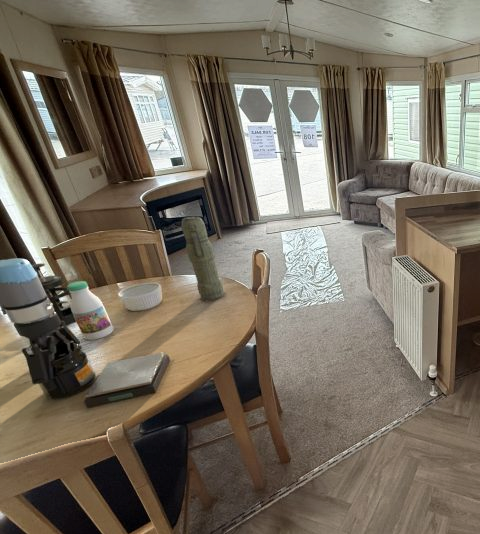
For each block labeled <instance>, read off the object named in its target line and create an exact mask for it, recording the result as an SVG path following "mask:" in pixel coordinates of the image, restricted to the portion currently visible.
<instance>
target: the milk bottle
mask: <svg viewBox="0 0 480 534" xmlns="http://www.w3.org/2000/svg"><path fill="white" fill-rule="evenodd" d="M66 288H68V290H69V292H70V295H71V297H72V300H71V299H70V301H71V311H72V313H73V316H74V318H75V320H76V322H75V323H76V324H77V326H78V328H79V330H80V332H81V334H82V336H83V338H84V339H85V340H88V341H93V340H98V339H102V338H104V337H108V336H109V335H111V334H112V333H113V331H114V326H113V324H112V322H111V319H110V316H109V315H108V312H107V310H106V308H105V306H104V305H103V304H104V303H103V302H102V300H101V299H100V298H99V297H98V296H97V295H95V294H94V293H92V291H90V289H89V285H88V283H87V281H84V280H83V281H76V282H72V283H69V284H68V285H67V286H66Z"/></svg>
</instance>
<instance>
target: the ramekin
mask: <svg viewBox="0 0 480 534" xmlns="http://www.w3.org/2000/svg"><path fill="white" fill-rule="evenodd" d="M162 293H163V292H162V286H161V284H160V283H158V282H143V283H138V284H133V285H131V286H127V287H126V288H123V289H122V290H120V291H119V292H118V293H117V296H118V298H119V300H121V302H122V304H123V306H124V307H125V309H127V310H129V311H132V312H139V311H141V312H142V311H145V310H149V309H152V308H155V307H157V306H158V305H159V304H160V303H161V302H162V301H163V294H162Z"/></svg>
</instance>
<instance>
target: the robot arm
mask: <svg viewBox="0 0 480 534" xmlns="http://www.w3.org/2000/svg"><path fill="white" fill-rule="evenodd" d="M32 265H33V264H31V262H30V261H28V259H25V258H8V259H1V260H0V304H1V306H2V308H3V310H4V311H5V313H6V315H7V317H8V319H9V321H10V322H11V323H13V327H14V329H15V330H16V332H17V333H18V335H19V336H20V337H23V338H27V339H28V341H29V346H27V347H23V348H22V349H21V352H22V354H23V356H24V357H25V361H26V363H27V367H28V371H29V376H30V377H31V378H30V379H31V382H32V385H39V384H40V383H43V385H44V387H45V388H46V390H47V391H48V393H49V394H50V396H51V398H50V399H52V400H53V399H60V398H59V397H62V398H65V397H64V396H66V395H67V394H66V392H65V390H64V388H63V386H62V385H61V383H60V381H59V379H58V377H57V376H53V366H52V364H51V361H52V353H53V352H54V346H58V345H64V344H68V343H76V344H78V345H79V347H80V349H81V350H82V349H83V347H82V345H81V341H80V339H79V338H78V337H77V336H76V335H75V334H74V333H73V332H72V330H71V329H69V327H68V325H66V324H65V322H64V321H60V319H59V317H58V315H57V313H56V312H53V311H54V308H53V304H52V303H51V302H50V300H49V299H48V297H49V296H48V293H45V291H44V289H43V286H42V284H41V282H40V280H39V278H40V277H39V274H38V271H36V269H35V268H33V267H32ZM41 350H48V351H43V352H41Z"/></svg>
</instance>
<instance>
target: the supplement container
mask: <svg viewBox="0 0 480 534" xmlns="http://www.w3.org/2000/svg"><path fill="white" fill-rule="evenodd" d="M79 346H80V345H78V344H76V343H68V344H64V345H58V346H54V352H53V353H52V361H51V364H52V366H53V376H57V377H58V379H59V381H60V383H61V385H62V386H63V388H64V390H65V392H66V394H67V395H66V396H64V397H59V398H58V399H62V398H67V397H70V396H73V395H76V394H77V393H80V392H82V391H84V390H86V388H88V387H89V386H90V385H93V383H94V382H95V380H96V379H97V375H96V372H95V371H94V369H93V367H92V365H91V363H90V360H89V359H88V356H87V353H86V352H85V351H82V349H80V347H79ZM43 351H48V350H41V352H43ZM38 385H39V387H40V389H41V391H42V393H43V395H44V396H45V397H47V398H49V399H52V398H51V396H50V394H49V393H48V391H47V390H46V388H45V387H44V385H43V383H40V384H38Z"/></svg>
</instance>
